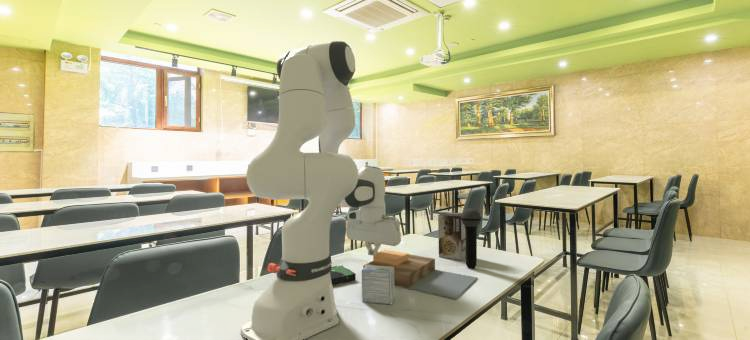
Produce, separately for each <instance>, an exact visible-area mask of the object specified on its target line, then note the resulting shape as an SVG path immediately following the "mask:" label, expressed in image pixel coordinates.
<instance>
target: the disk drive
mask: <svg viewBox="0 0 750 340" xmlns="http://www.w3.org/2000/svg"><path fill="white" fill-rule="evenodd" d="M331 267H332V269H331V271H330V276H331V281H332V286H333V287H334V286H337V285H342V284H348V283H351V282H356V279H357V278H356V273H355V272H353V270H351V269H349V268H346V267H345V266H344V265H335V266H331Z"/></svg>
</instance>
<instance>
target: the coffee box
mask: <svg viewBox="0 0 750 340" xmlns="http://www.w3.org/2000/svg"><path fill="white" fill-rule="evenodd" d="M462 213H463V212H449V211H447V212H446V211H443V212H441V213H439V214H437V225H438V227H437V230H438V258H443V259H444V258H445V259H451V260H460V261H463V260H464V259H465V230H466V229H465V225H464V224H463V223H462V221H461V215H462Z"/></svg>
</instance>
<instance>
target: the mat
mask: <svg viewBox="0 0 750 340" xmlns="http://www.w3.org/2000/svg"><path fill="white" fill-rule="evenodd" d="M477 280H478V277H476V276H471V275H466V274H460V273H456V272H451V271H447V270H445V271H444V270H439V269H435V270H434V271H432V272H431V273H429V274H428V275H426V276H425V277H423V278H422V279H420V280H419V281H417V282H416V283H414V284H413V285H411V286H410V287H409V289H408V290H413V291H416V292H421V293H425V294H430V295H435V296H439V297H443V298H447V299H451V300H457V299H458V298H459V297H461V296H462V294H464V292H466V291H467V290H468V289H469V288H470V287H471V286H472V285H473V284H474V283H475V282H476V281H477Z"/></svg>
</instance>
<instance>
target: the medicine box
mask: <svg viewBox="0 0 750 340" xmlns="http://www.w3.org/2000/svg"><path fill="white" fill-rule="evenodd" d="M395 289H396V288H395V285H394V267H390V266H377V265H366V266H365V267H364V268H363V267H362V270H361V297H362V298H361V299H362V300H361V301H362V302H364V303H374V304H382V305H392V304H393V302H394V300H395V297H396V295H395V294H396V292H395V291H396V290H395Z"/></svg>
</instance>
